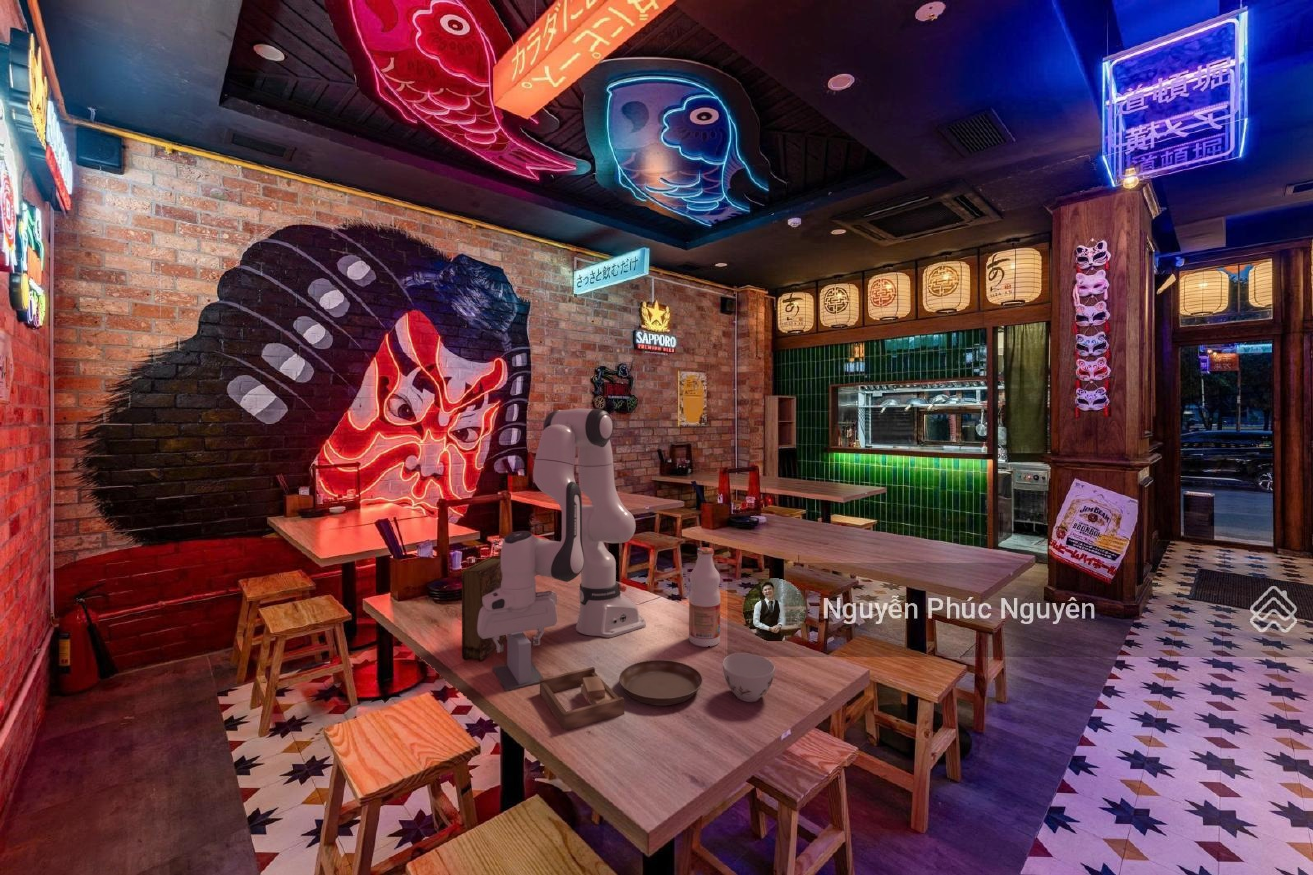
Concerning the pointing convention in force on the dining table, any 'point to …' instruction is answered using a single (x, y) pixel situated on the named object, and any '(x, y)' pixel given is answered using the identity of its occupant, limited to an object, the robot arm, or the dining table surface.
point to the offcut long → (595, 701)
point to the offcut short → (593, 688)
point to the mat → (509, 679)
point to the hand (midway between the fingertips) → (518, 648)
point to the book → (478, 606)
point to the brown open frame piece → (585, 713)
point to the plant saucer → (660, 682)
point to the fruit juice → (704, 601)
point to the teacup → (748, 675)
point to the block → (519, 657)
